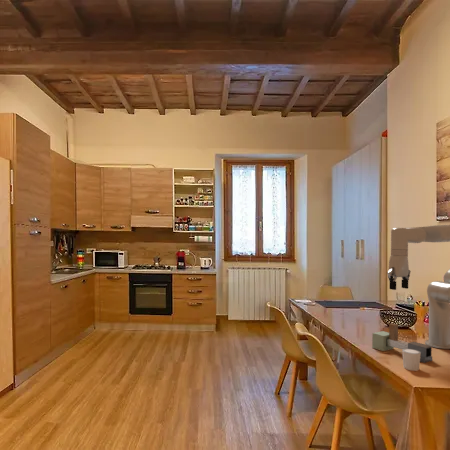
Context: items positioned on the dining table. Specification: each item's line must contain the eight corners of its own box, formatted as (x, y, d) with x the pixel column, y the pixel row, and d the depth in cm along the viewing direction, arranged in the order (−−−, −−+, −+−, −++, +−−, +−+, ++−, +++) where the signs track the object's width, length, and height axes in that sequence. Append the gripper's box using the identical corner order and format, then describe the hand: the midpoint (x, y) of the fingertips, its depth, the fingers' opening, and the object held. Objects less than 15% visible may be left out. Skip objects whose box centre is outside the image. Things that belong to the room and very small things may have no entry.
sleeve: (414, 355, 174) (414, 341, 174) (432, 360, 167) (432, 346, 167) (406, 357, 171) (407, 343, 171) (424, 362, 164) (424, 347, 164)
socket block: (382, 345, 189) (382, 331, 189) (393, 348, 184) (393, 333, 184) (372, 347, 184) (372, 333, 185) (383, 351, 179) (383, 336, 180)
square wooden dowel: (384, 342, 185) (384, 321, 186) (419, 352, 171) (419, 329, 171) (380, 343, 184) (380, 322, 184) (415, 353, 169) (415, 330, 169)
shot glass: (415, 365, 160) (415, 348, 161) (424, 371, 154) (424, 353, 154) (398, 365, 160) (399, 348, 160) (407, 371, 153) (407, 353, 153)
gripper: (402, 252, 194) (402, 286, 194) (381, 253, 185) (381, 288, 185) (416, 253, 188) (416, 288, 188) (395, 254, 179) (395, 291, 178)
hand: (398, 288), depth 186 cm, fingers open, 9 cm apart
